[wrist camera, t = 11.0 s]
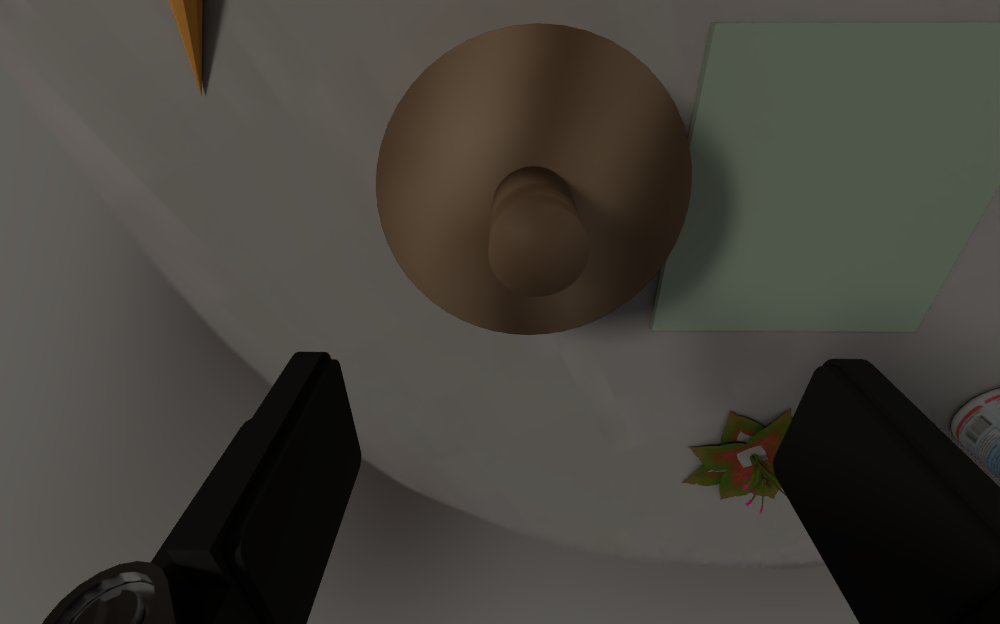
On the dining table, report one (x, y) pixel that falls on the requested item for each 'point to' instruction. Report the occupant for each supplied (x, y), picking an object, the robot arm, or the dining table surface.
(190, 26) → the carrot
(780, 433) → the lily flower
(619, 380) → the dining table surface
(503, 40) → the lid
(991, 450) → the pill bottle
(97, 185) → the dining table surface
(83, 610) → the robot arm
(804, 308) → the mat
